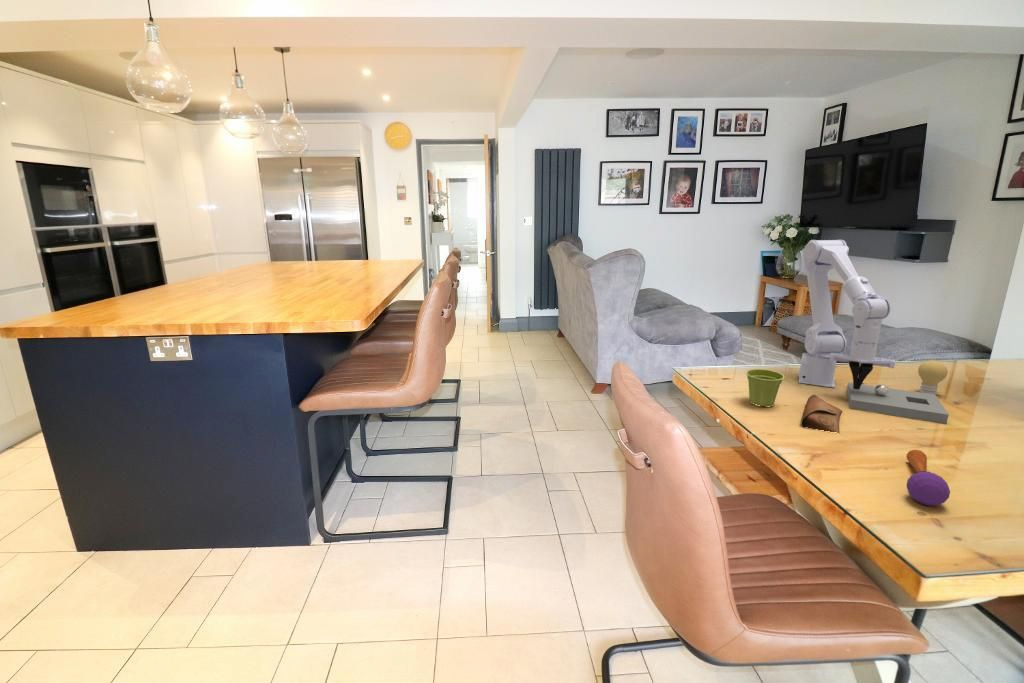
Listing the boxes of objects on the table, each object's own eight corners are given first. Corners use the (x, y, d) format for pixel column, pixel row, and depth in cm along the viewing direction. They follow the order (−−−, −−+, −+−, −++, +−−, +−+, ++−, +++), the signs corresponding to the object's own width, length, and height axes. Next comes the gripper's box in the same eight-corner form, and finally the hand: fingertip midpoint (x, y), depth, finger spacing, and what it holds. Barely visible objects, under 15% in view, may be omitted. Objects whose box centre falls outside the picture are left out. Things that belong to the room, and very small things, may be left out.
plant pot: (765, 412, 128) (769, 382, 126) (735, 401, 137) (738, 372, 134) (787, 406, 133) (792, 376, 130) (757, 395, 141) (760, 367, 139)
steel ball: (873, 395, 133) (875, 384, 132) (872, 392, 135) (874, 381, 134) (888, 398, 131) (890, 387, 130) (886, 394, 134) (888, 383, 133)
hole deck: (850, 408, 131) (851, 399, 130) (846, 390, 144) (848, 382, 143) (946, 423, 121) (948, 414, 120) (933, 402, 134) (935, 394, 133)
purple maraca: (940, 451, 99) (959, 488, 83) (927, 475, 101) (943, 517, 85) (905, 438, 102) (916, 473, 86) (893, 463, 104) (902, 500, 88)
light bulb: (931, 390, 143) (938, 358, 141) (947, 398, 137) (955, 364, 135) (908, 389, 144) (915, 357, 141) (923, 397, 138) (931, 364, 135)
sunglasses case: (842, 434, 115) (828, 409, 116) (810, 442, 119) (797, 417, 120) (843, 410, 130) (831, 387, 130) (814, 417, 134) (803, 395, 134)
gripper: (833, 341, 133) (826, 387, 136) (900, 348, 125) (890, 397, 129) (833, 336, 138) (825, 380, 142) (896, 342, 131) (886, 389, 135)
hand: (856, 388), depth 136 cm, fingers closed
